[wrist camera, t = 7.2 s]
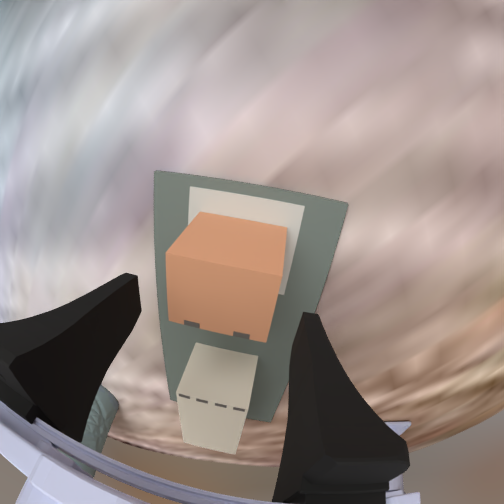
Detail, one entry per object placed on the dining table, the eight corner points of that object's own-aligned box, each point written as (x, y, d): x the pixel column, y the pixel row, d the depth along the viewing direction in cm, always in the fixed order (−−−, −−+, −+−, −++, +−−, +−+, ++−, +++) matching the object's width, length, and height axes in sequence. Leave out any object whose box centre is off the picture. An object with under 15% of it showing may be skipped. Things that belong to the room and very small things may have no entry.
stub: (274, 285, 18) (266, 343, 14) (196, 269, 18) (168, 321, 14) (287, 227, 16) (282, 277, 12) (199, 211, 16) (165, 253, 12)
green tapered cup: (85, 365, 28) (39, 440, 18) (139, 413, 32) (108, 485, 22) (55, 370, 32) (17, 428, 21) (100, 412, 35) (72, 470, 25)
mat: (270, 420, 27) (270, 422, 27) (171, 397, 28) (170, 400, 27) (347, 202, 15) (348, 205, 15) (156, 170, 16) (153, 171, 15)
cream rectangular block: (243, 413, 26) (235, 455, 22) (196, 402, 27) (183, 442, 22) (258, 356, 21) (248, 410, 17) (195, 342, 22) (175, 392, 17)
